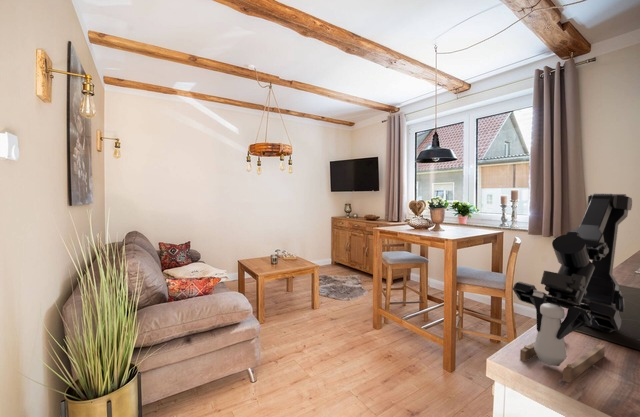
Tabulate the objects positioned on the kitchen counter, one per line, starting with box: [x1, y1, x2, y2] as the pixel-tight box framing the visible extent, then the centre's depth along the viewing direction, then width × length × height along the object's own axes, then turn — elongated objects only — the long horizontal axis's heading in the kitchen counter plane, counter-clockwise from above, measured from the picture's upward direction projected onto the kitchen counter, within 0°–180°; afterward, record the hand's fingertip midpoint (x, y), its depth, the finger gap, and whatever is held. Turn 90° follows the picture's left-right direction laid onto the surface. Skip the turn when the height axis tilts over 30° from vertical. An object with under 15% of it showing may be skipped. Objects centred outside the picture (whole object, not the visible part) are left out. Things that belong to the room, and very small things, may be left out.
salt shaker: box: [534, 303, 568, 367], centre depth 63 cm, size 6×6×13 cm
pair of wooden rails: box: [519, 341, 606, 383], centre depth 67 cm, size 20×9×3 cm, turn 119°
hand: (547, 334), depth 63 cm, fingers closed on salt shaker, 3 cm apart
